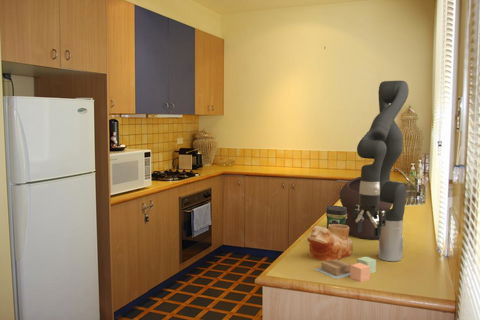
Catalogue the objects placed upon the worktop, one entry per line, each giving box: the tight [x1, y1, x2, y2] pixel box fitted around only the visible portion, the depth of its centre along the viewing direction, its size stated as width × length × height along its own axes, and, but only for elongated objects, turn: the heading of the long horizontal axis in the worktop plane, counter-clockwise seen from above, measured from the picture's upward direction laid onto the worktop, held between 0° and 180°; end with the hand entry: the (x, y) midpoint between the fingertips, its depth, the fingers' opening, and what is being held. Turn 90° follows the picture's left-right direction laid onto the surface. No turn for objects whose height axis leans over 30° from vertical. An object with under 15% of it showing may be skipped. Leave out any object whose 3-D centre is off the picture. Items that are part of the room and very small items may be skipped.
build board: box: [313, 267, 350, 280], centre depth 177 cm, size 12×12×1 cm
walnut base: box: [320, 259, 352, 276], centre depth 177 cm, size 8×8×3 cm
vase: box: [339, 176, 393, 240], centre depth 234 cm, size 27×27×30 cm
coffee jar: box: [325, 204, 347, 229], centre depth 216 cm, size 10×8×19 cm
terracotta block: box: [349, 262, 371, 283], centre depth 169 cm, size 5×5×6 cm
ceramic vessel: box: [306, 224, 354, 262], centre depth 196 cm, size 14×26×15 cm, turn 135°
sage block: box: [356, 256, 377, 274], centre depth 177 cm, size 5×5×6 cm
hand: (367, 234), depth 176 cm, fingers open, 8 cm apart
